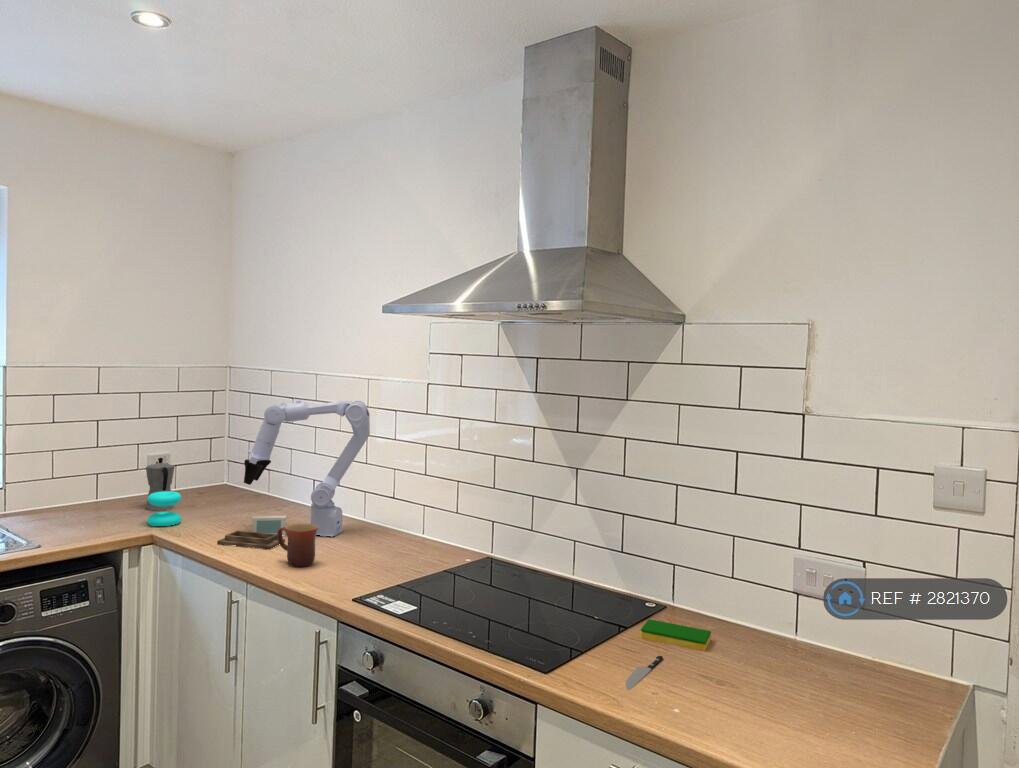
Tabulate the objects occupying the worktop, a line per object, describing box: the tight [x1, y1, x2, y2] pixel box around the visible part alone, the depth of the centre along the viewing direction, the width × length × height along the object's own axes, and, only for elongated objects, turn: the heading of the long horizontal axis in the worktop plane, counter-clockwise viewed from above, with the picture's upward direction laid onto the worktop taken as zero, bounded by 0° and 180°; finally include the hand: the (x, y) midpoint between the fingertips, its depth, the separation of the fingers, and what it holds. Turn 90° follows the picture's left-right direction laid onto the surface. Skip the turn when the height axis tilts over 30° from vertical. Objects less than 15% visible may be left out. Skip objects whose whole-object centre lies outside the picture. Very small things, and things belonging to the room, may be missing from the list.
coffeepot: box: [145, 457, 176, 512], centre depth 262 cm, size 15×9×18 cm, turn 37°
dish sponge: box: [639, 618, 712, 652], centre depth 162 cm, size 7×14×2 cm, turn 65°
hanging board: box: [216, 529, 286, 550], centre depth 223 cm, size 17×9×2 cm, turn 78°
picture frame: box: [251, 514, 287, 536], centre depth 233 cm, size 10×3×6 cm, turn 103°
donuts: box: [147, 490, 182, 527], centre depth 242 cm, size 10×10×10 cm
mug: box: [277, 523, 318, 568], centre depth 205 cm, size 12×9×10 cm
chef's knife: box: [625, 655, 664, 691], centre depth 144 cm, size 19×1×3 cm
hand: (250, 481), depth 235 cm, fingers open, 7 cm apart
